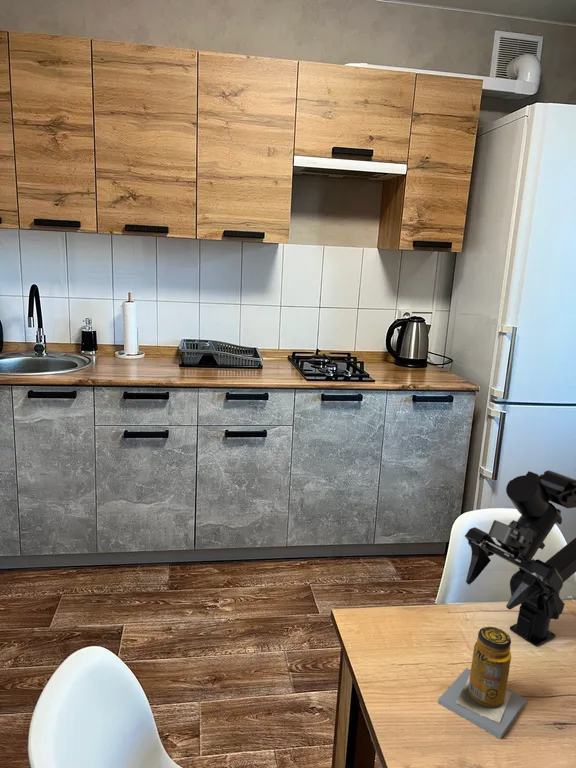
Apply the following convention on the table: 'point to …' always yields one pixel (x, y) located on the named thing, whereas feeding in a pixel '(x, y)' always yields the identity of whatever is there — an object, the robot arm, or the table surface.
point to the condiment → (488, 675)
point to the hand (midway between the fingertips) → (486, 595)
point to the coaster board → (483, 722)
